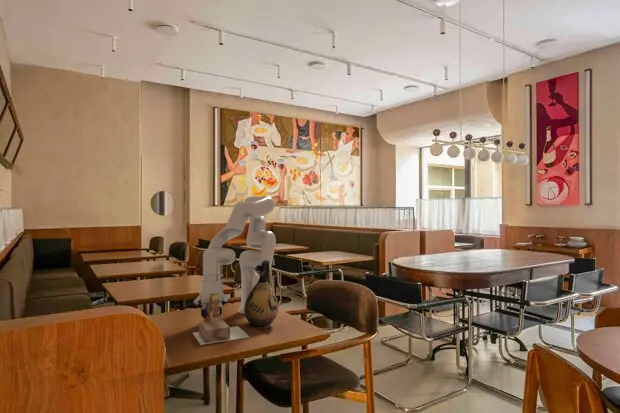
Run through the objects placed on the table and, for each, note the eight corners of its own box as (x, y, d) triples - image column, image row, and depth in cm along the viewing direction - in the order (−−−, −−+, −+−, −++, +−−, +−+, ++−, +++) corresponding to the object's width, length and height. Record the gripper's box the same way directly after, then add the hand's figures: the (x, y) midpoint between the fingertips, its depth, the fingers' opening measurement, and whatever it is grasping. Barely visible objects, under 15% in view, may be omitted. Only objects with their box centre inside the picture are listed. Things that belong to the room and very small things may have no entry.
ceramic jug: (272, 332, 173) (272, 263, 172) (239, 330, 176) (239, 262, 175) (283, 321, 189) (283, 258, 189) (252, 319, 192) (252, 257, 192)
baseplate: (238, 328, 178) (238, 326, 178) (249, 339, 164) (249, 336, 164) (192, 335, 169) (192, 332, 169) (200, 347, 155) (200, 344, 155)
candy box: (220, 328, 179) (220, 294, 179) (211, 330, 176) (211, 295, 176) (211, 323, 186) (211, 290, 186) (202, 325, 183) (202, 292, 183)
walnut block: (222, 330, 172) (222, 319, 172) (230, 339, 161) (230, 326, 161) (198, 334, 167) (198, 322, 167) (205, 343, 157) (205, 330, 157)
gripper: (228, 274, 188) (227, 312, 188) (190, 277, 180) (190, 317, 180) (232, 277, 181) (232, 316, 181) (193, 280, 173) (193, 321, 173)
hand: (211, 316), depth 181 cm, fingers open, 6 cm apart
